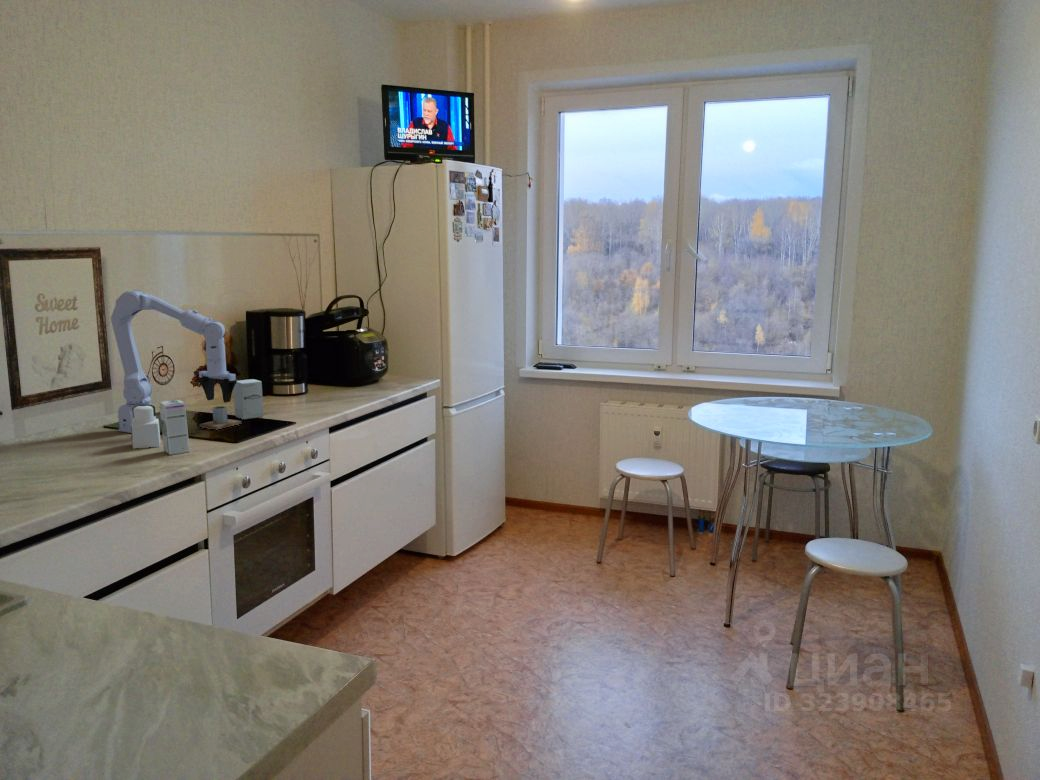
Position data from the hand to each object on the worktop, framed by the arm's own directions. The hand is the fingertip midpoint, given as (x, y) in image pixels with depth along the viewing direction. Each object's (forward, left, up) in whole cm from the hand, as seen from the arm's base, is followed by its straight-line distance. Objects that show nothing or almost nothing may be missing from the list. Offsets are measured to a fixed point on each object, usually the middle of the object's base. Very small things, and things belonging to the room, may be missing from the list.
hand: (218, 400), depth 252 cm
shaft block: (0, 0, -8) cm, 8 cm away
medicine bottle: (-28, -1, -9) cm, 29 cm away
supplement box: (+15, +3, -9) cm, 18 cm away
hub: (0, 0, -7) cm, 7 cm away
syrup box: (-29, -15, -9) cm, 34 cm away
